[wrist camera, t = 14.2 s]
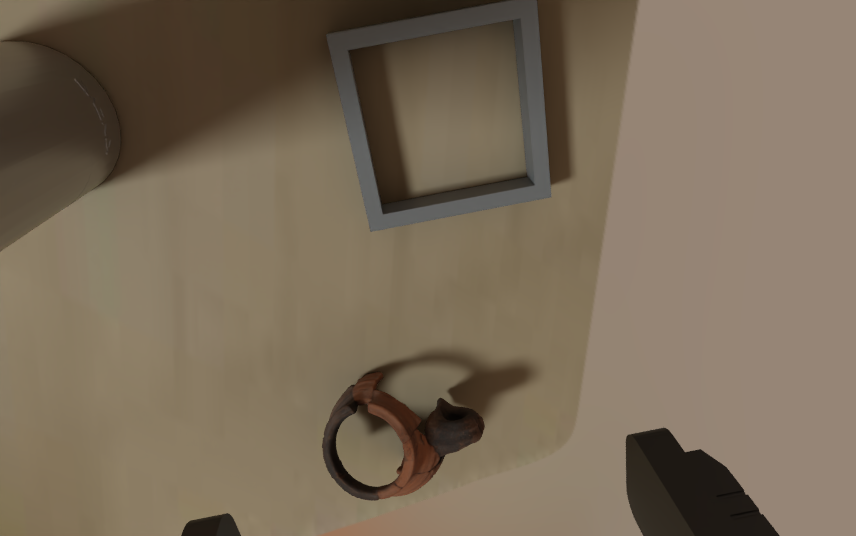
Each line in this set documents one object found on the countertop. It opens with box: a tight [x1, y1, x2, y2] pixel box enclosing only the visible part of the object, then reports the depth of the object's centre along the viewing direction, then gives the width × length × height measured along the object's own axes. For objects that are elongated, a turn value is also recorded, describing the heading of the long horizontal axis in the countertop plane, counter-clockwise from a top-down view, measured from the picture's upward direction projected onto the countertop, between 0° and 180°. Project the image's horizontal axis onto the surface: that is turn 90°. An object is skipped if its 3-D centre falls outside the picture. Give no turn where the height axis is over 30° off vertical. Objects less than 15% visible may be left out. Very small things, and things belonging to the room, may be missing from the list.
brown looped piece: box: [322, 372, 485, 500], centre depth 43 cm, size 12×10×8 cm
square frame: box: [326, 0, 551, 232], centre depth 35 cm, size 12×12×2 cm
